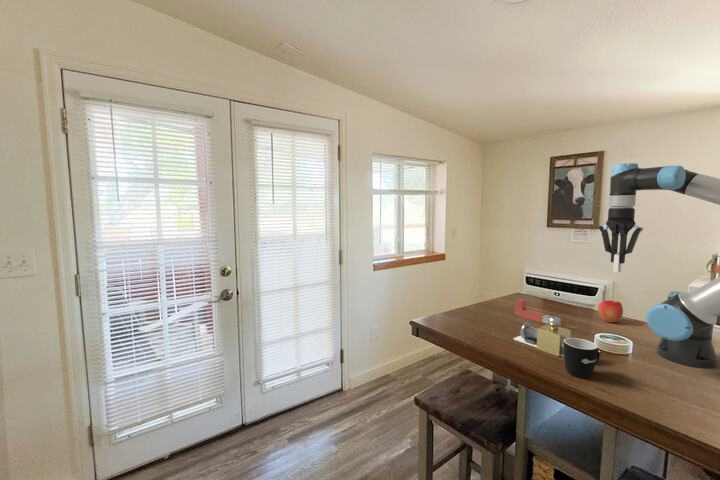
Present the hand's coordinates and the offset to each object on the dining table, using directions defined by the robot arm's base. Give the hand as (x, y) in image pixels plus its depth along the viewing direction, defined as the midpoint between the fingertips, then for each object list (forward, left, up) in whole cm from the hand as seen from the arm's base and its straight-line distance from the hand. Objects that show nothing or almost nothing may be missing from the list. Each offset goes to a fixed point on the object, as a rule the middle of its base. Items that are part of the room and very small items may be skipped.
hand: (616, 271), depth 122 cm
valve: (+12, +19, -29) cm, 37 cm away
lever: (+18, +19, -20) cm, 33 cm away
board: (+14, +15, -29) cm, 35 cm away
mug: (-2, +29, -30) cm, 41 cm away
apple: (+12, -33, -30) cm, 46 cm away
